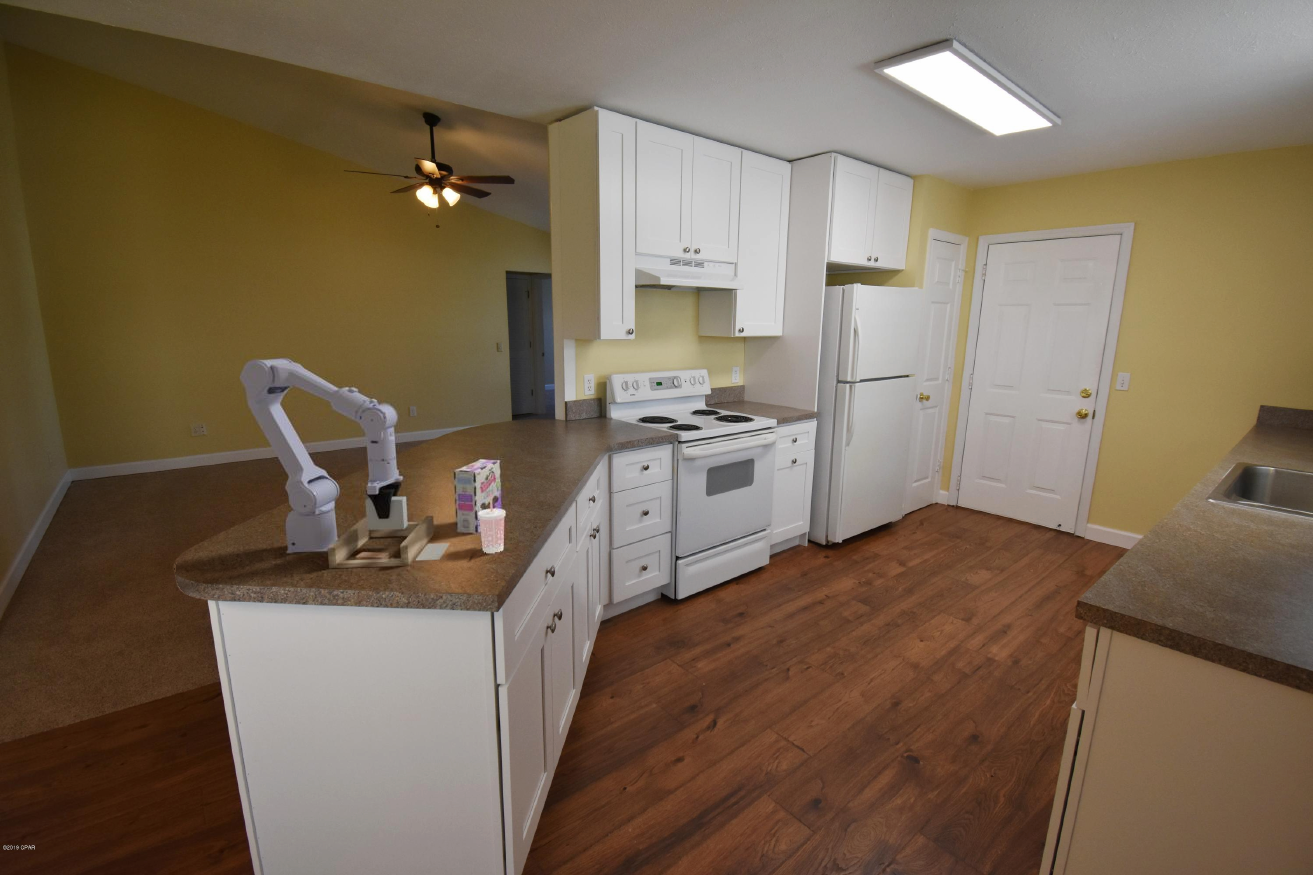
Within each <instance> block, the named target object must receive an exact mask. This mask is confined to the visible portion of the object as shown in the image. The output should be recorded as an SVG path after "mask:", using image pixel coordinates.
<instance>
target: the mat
mask: <svg viewBox="0 0 1313 875" xmlns="http://www.w3.org/2000/svg"><path fill="white" fill-rule="evenodd" d="M450 544H451V542H444V543H443V542H442V543H441V542H438V543H426V544H425V545H426V546H424V547H423V548H422V550H421V551H420V552H419V553H418V555H417V556H416V557H415V559H414V561H415V562H417V561H418V562H420V561H439V560H440V559H441V558H442V556H443V555H444V553H445V551H446V550H447V548H448V547H449V545H450Z"/></svg>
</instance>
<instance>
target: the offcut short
mask: <svg viewBox="0 0 1313 875" xmlns="http://www.w3.org/2000/svg"><path fill="white" fill-rule="evenodd" d="M372 559H390V556H389V553H388V552H374V551H373V552H371V551H369V552H368V551H366V552H365V551H362V552H360V553H359V554H358V555H355V560H372Z"/></svg>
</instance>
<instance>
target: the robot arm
mask: <svg viewBox="0 0 1313 875" xmlns="http://www.w3.org/2000/svg"><path fill="white" fill-rule="evenodd" d="M239 380H240V381H241V383H242V385H243V387H244V388H245V394H246V401H247V402H246V403H247V405H248V408H249V410H250V412H251V413H252V415H253V416H254V418H255V420H256V422H257V424H258V425H259V427H260V429H261V431H262V432H263V434H264V435H265V437H266V439H267V441H268V443H269V445H270V446H271V448H272V449H273V451H274V453H275V455H276V456H277V458H278V460H279V462H280V463H281V465H282V467H283V469H284V470H285V472H286V473H287V475H288V479H287V481H286V483H285V486H284V487H285V490H286V492H287V495H288V503H289V505H290V507H291V508H292V510H291V511H290V512H289V513H288V515H287V516H286V520H285V532H286V533H285V534H286V543H287V551H286V554H293V553H299V552H300V553H306V552H308V553H309V552H312V553H313V552H328V549H327V548H328V547H329V546H330V545H331V544H333V543H334V542H335V541H336V540H338V539H339V538H340V537H339V538H338V531H337V522H336V511H335V505H336V504H335V503H336V500H337V499H338V498H339V496H340V487H339V484H338V483H337V482H336V481H335V480H334V479H333V478H332V477H330V475H328V474H329V473H327V471H326V470H325V469H322V468H320V467H319V466H317V465H315V463H314V462H313V459H312V458H311V456H310V455H309V452H308V451H307V449H306V448H305V445H304V444H303V443H302V441H301V439H300V436H299V435H298V434H297V432H296V430H295V428H294V427H293V425H292V423H291V421H290V420H289V417H288V416H287V414H286V412H285V411H284V409H283V407H282V406H281V405H282V404H281V402H282V400H283V397H284V396H285V395H286V393H288V391H289V390H290V388H292V387H297V388H299V389H302V390H303V391H305V392H308V393H311V394H312V395H315V396H316V397H318V398H319V397H320V398H321V399H323V400H325V401H328V402H330V405H331V408H332V410H333V411H336V412H337V413H340V414H342V415H343V416H345V417H347V418H349V419H351V420H352V421H355V422H356V423H359V426H360V427H361V429H362V430H363V431H364V433H365V438H366V439H365V440H366V452H367V465H368V466H367V467H368V481H367V482H368V484H367V485H366V490H365V493H366V496H367V498H370V499H371V501H372V503H373V505H374V507H375V510H376V513H377V516H378V518H379V519H388V518H389V516H390V505H391V499H392V497H398V494H399V491H400V489H401V487H402V482H401V481H402V480H404V477H403V476H402V475H400V472H399V471H400V470H399V469H398V466H397V453H396V451H397V450H396V437H395V426H396V425H397V423H398V420H399V415H398V414H399V413H398V412H397V409H396V408H394V406H392V405H390V404H389V403H386V402H382V403H378V400H377V399H375V398H372V399H371V398H369V397H367V396H365V395H363V394H362V393H360V392H359V389H358V388H356V387H354V386H353V387H347V386H346V387H342V388H339V387H336V386H335V385H333V384H331V383H329V382H328V381H327V380H324V379H323V378H321V377H320V376H318V375H316V374H314V373H312V372H311V371H309V370H308V369H306V368H304V367H303V365H301V364H300V363H297V362H293V361H292V360H291V359H289V358H284V357H280V358H273V359H272V358H271V359H270V358H269V359H250V360H249V361H247V362H246V363H245V365H244V366H243V368H242V371H241V373H240V376H239Z"/></svg>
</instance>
